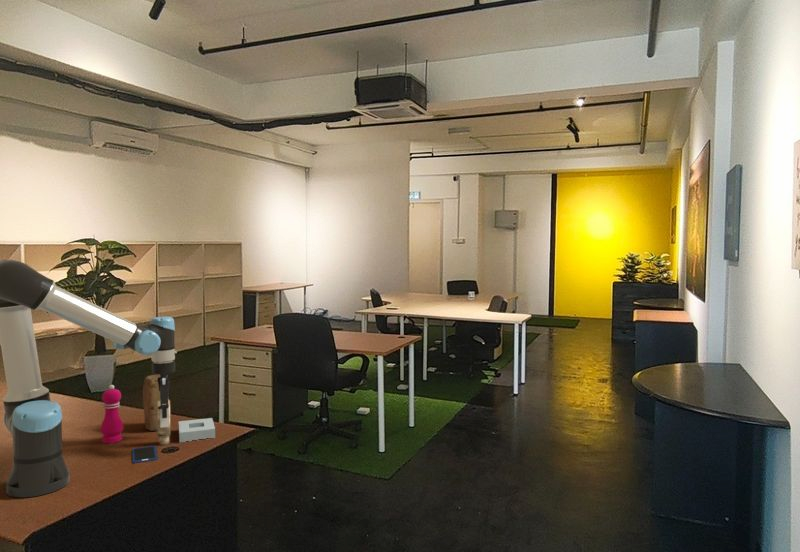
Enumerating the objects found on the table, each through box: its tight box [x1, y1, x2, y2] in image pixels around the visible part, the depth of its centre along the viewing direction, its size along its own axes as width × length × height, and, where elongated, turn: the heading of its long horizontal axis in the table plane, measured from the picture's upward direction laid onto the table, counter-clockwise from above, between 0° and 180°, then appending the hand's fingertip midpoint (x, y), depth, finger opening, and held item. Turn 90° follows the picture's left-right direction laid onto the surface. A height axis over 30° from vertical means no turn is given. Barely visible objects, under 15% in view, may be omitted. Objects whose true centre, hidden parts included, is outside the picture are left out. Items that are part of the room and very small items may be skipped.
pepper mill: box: [100, 384, 124, 444], centre depth 195 cm, size 7×7×20 cm
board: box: [178, 417, 216, 443], centre depth 203 cm, size 12×14×4 cm
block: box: [142, 374, 170, 432], centre depth 210 cm, size 11×8×20 cm
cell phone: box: [131, 445, 158, 464], centre depth 183 cm, size 7×14×1 cm, turn 26°
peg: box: [157, 399, 172, 446], centre depth 193 cm, size 4×4×15 cm
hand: (164, 421), depth 193 cm, fingers open, 13 cm apart
